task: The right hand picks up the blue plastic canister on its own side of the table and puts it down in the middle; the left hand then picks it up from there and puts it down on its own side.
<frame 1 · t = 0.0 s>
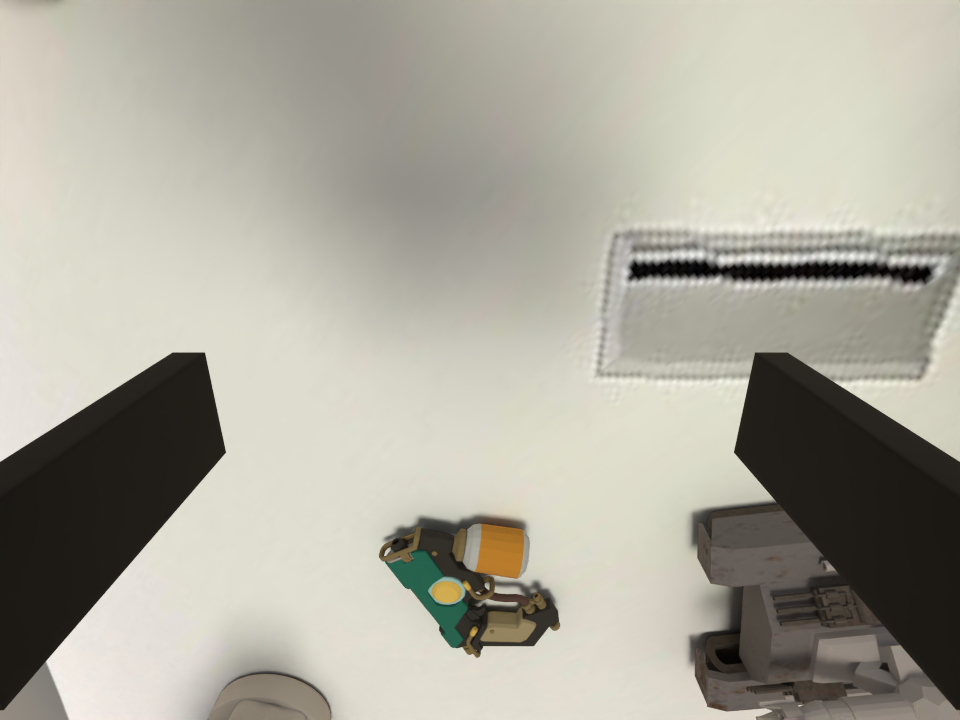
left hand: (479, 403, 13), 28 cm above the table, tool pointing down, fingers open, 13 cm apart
spray gun: (473, 576, 51), on the table
toy: (817, 576, 51), on the table
bust sculpture: (266, 687, 56), on the table
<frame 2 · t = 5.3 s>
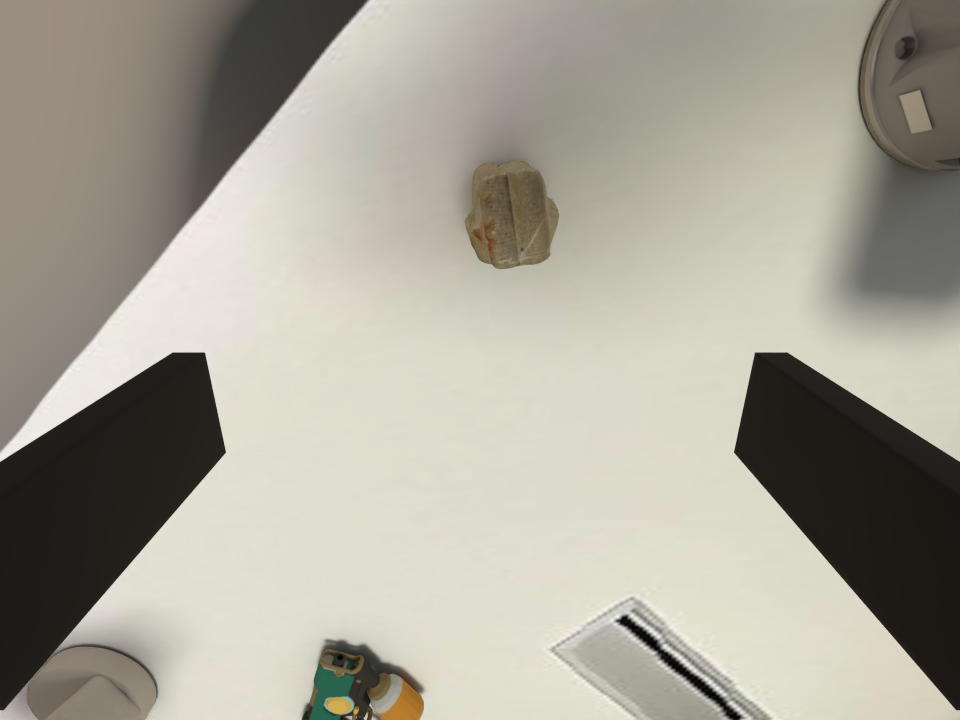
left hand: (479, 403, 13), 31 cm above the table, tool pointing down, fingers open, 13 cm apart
spray gun: (357, 696, 61), on the table
bust sculpture: (117, 665, 59), on the table
sculpture: (505, 209, 41), on the table
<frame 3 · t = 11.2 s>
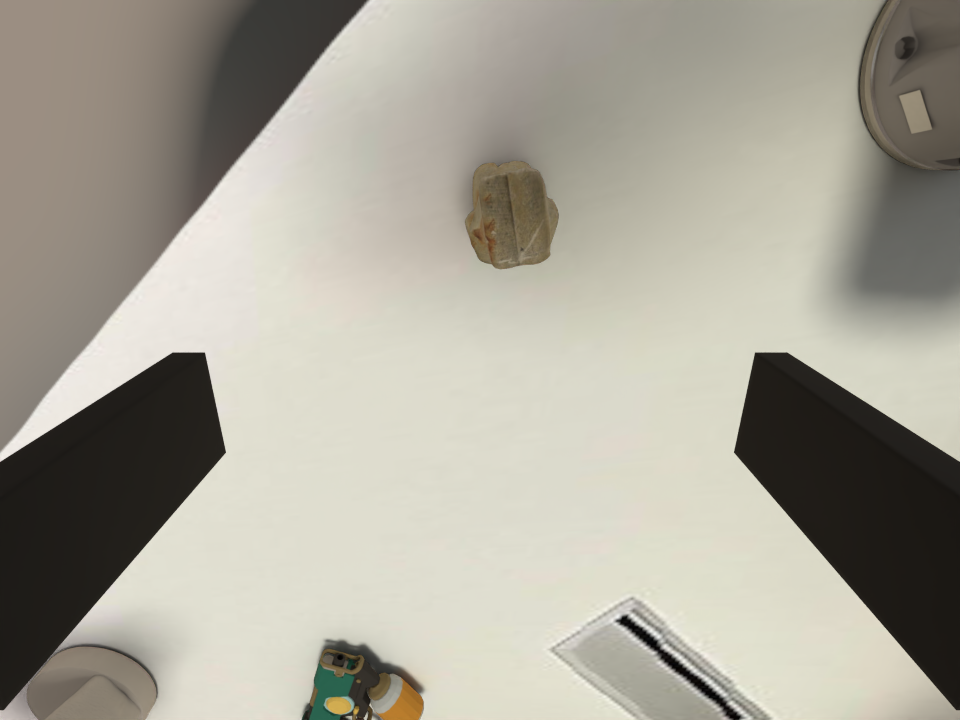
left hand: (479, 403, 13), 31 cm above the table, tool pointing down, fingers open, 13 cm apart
spray gun: (357, 696, 61), on the table
bust sculpture: (117, 665, 59), on the table
sculpture: (505, 209, 41), on the table
when the right hand's fingers open (4 cm above the table, at t = 17.5 s): canister drops 2 cm, on the table.
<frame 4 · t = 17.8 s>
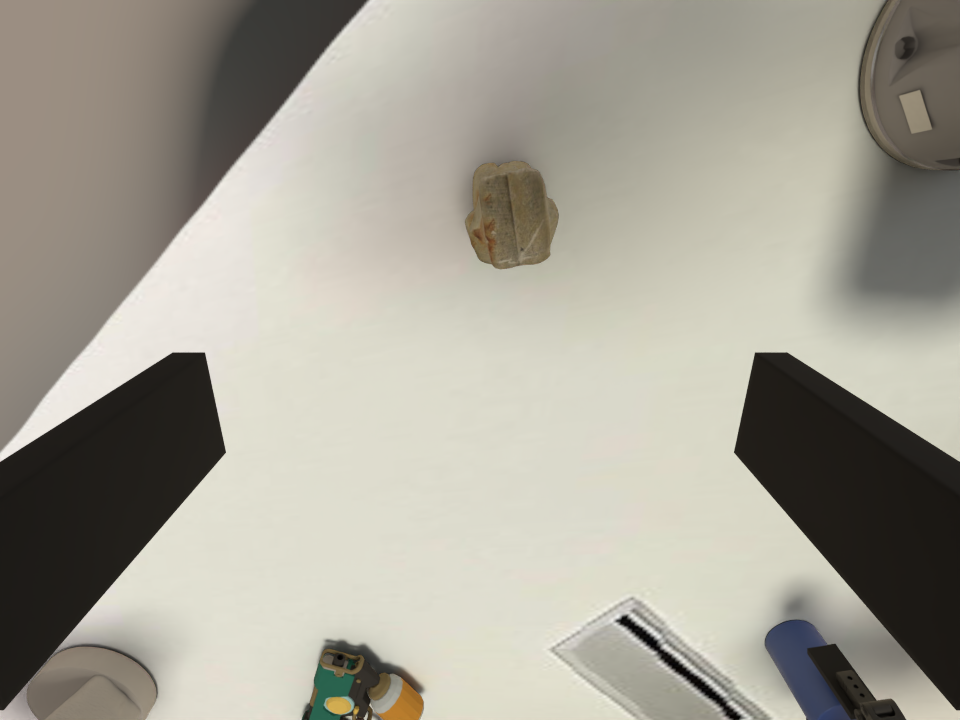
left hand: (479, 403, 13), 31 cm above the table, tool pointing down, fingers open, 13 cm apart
canister: (790, 638, 58), on the table
spray gun: (357, 696, 61), on the table
bust sculpture: (117, 665, 59), on the table
sculpture: (505, 209, 41), on the table
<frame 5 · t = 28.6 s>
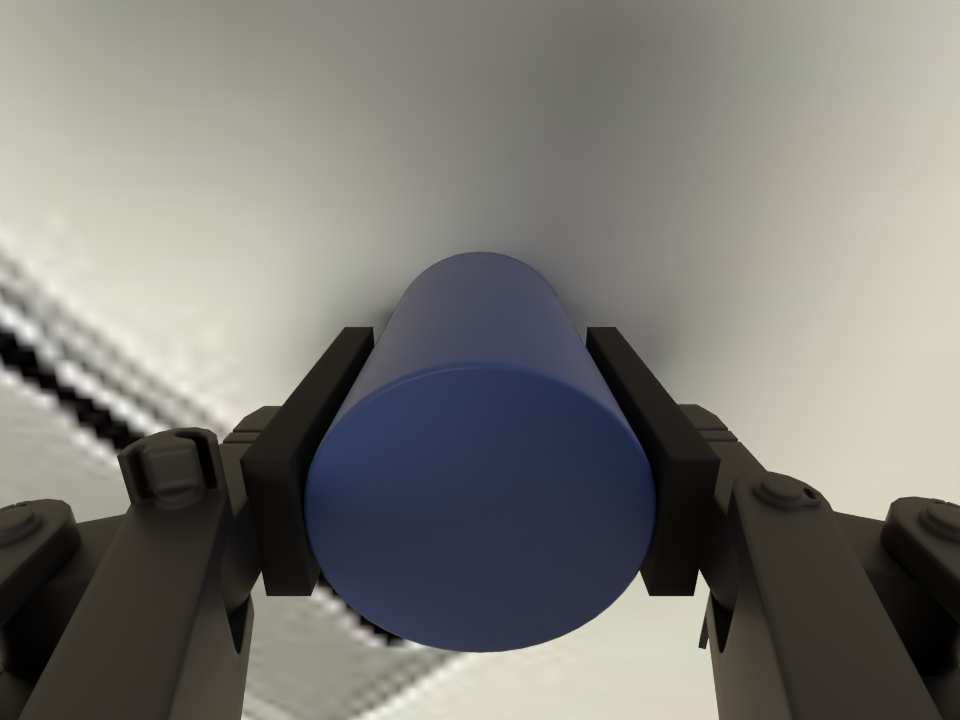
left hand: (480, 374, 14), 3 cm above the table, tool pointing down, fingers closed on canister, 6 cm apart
canister: (480, 339, 17), on the table, touching left hand
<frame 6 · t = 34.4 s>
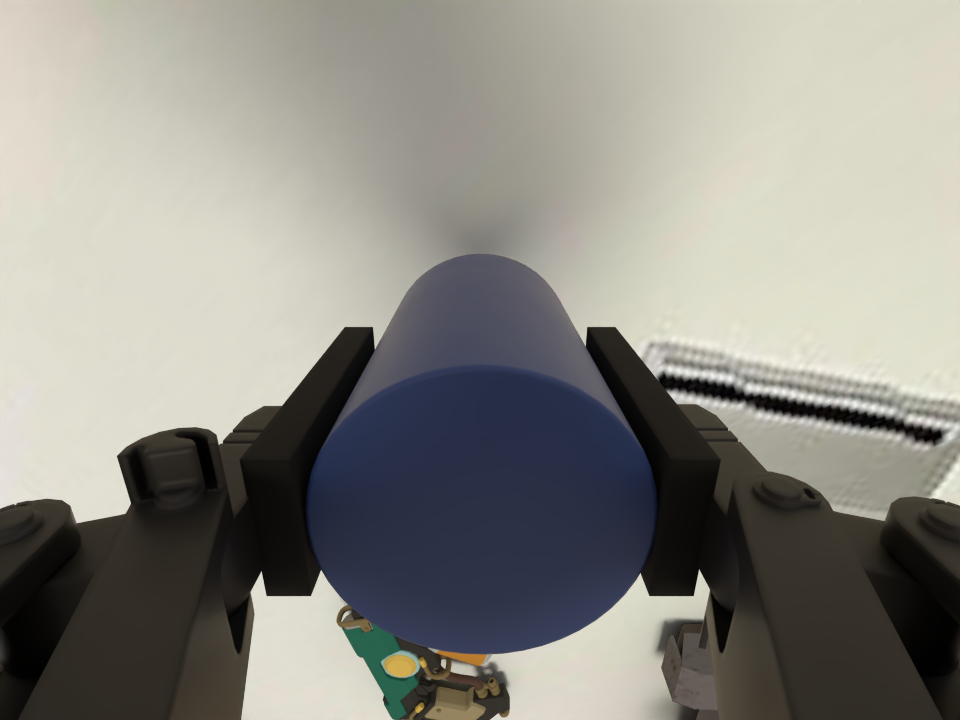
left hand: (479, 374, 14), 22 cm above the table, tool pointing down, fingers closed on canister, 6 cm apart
canister: (480, 341, 17), point 19 cm above the table, touching left hand
spray gun: (429, 649, 48), on the table
toy: (770, 698, 51), on the table
when the left hand's fingers open (4 cm above the table, at t = 40.4 s): canister drops 2 cm, on the table.
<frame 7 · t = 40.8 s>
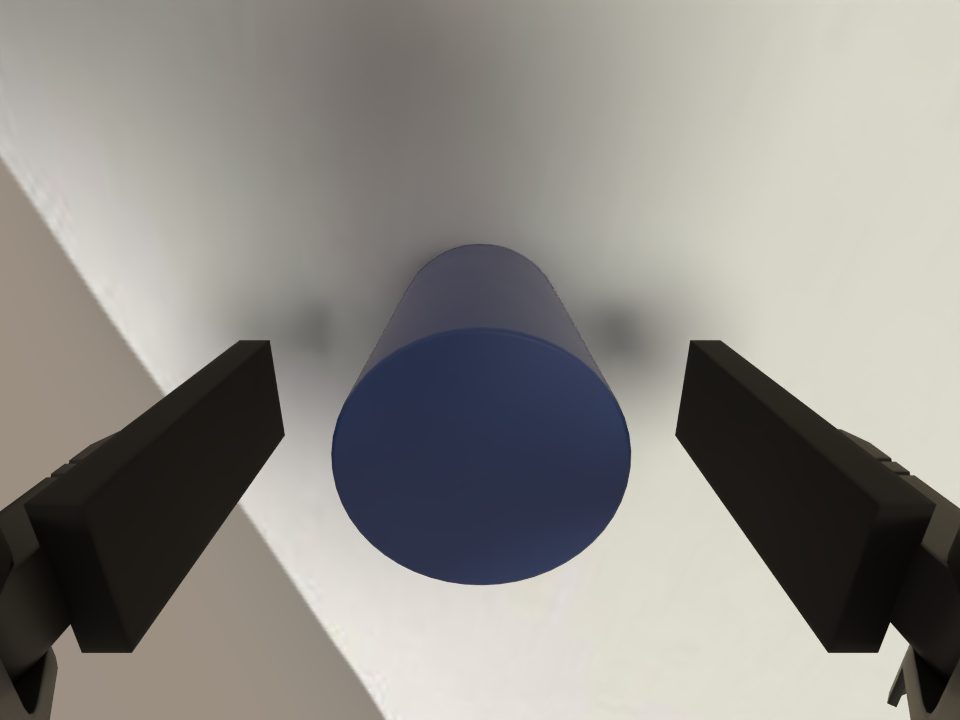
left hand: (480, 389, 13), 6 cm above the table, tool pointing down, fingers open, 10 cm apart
canister: (480, 325, 18), on the table
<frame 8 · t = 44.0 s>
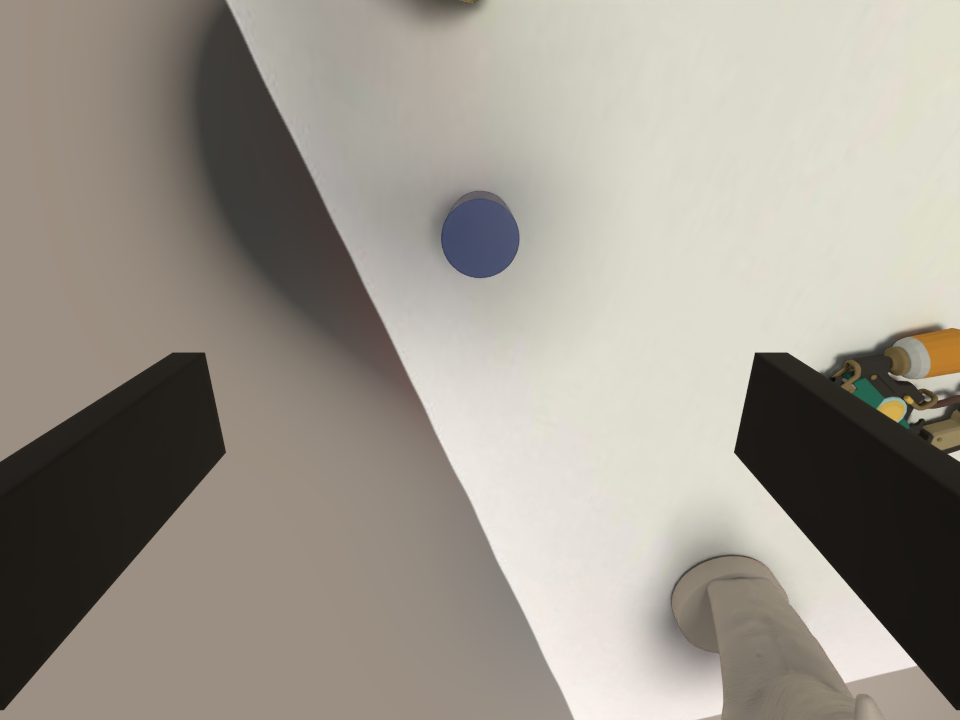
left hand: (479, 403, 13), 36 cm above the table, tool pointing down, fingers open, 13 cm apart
canister: (480, 224, 46), on the table
spray gun: (897, 398, 53), on the table
bust sculpture: (712, 573, 61), on the table
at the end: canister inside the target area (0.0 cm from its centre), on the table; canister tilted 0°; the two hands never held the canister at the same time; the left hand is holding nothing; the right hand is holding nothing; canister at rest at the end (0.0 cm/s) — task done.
